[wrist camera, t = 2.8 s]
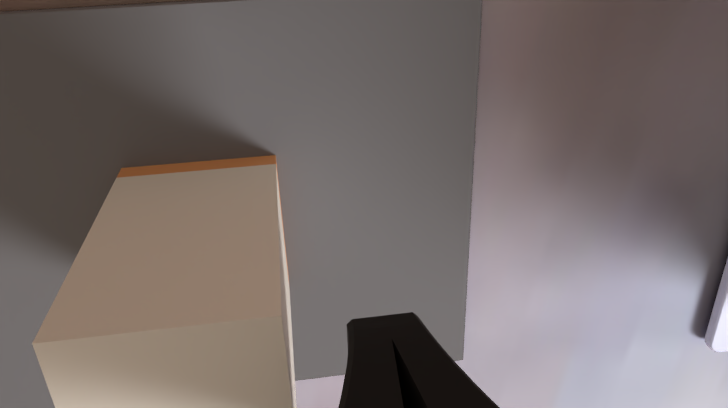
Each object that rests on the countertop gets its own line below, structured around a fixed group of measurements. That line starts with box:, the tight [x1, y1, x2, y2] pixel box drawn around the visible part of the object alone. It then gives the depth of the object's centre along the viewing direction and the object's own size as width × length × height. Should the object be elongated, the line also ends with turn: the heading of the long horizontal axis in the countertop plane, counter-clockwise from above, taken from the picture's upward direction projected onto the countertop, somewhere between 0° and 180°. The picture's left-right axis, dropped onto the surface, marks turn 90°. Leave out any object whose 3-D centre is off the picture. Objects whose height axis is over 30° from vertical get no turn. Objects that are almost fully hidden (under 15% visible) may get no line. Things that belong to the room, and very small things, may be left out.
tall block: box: [32, 155, 297, 408], centre depth 14 cm, size 4×4×7 cm
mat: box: [0, 0, 482, 408], centre depth 17 cm, size 18×12×1 cm, turn 92°
